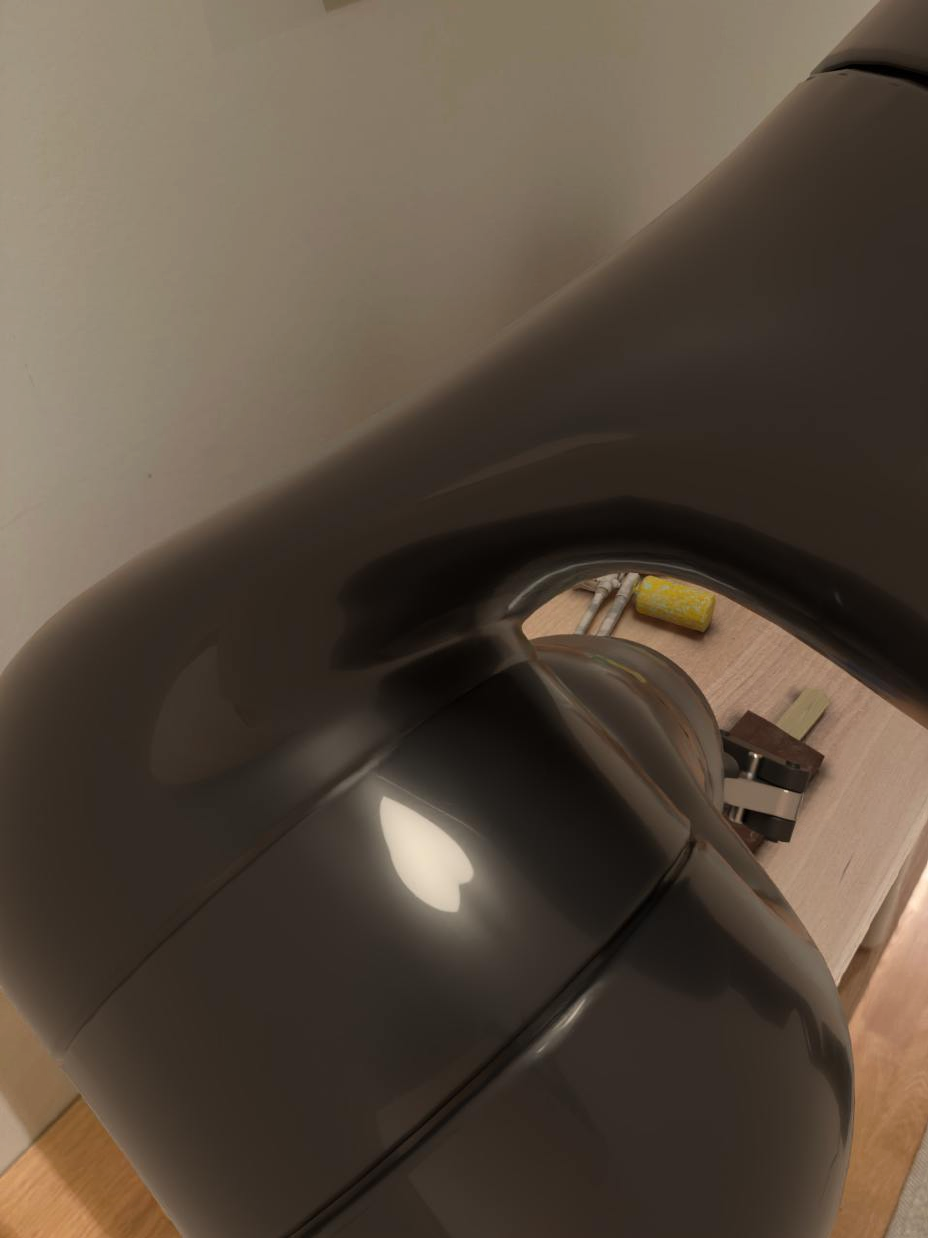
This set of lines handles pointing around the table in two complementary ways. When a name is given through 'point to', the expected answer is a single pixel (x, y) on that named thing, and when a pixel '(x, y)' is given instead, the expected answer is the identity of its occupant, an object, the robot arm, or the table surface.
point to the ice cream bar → (782, 742)
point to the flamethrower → (649, 602)
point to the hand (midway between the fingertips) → (632, 726)
